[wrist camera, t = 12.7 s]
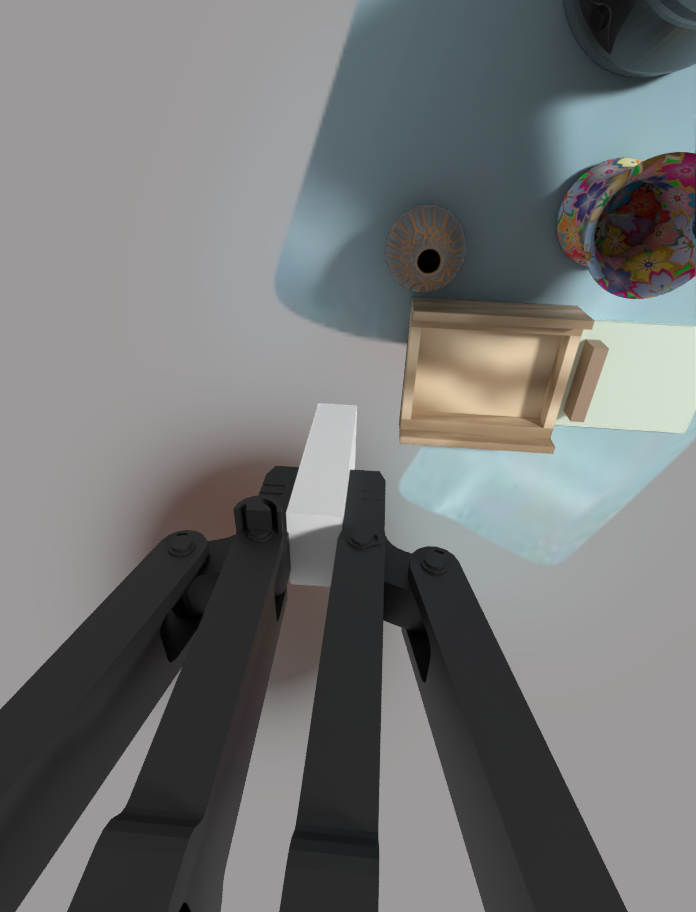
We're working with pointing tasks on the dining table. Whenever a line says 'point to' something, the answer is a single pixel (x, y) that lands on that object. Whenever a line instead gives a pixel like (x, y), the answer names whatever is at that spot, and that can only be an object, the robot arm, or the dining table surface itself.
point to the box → (487, 373)
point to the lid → (632, 377)
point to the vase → (425, 248)
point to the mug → (633, 224)
